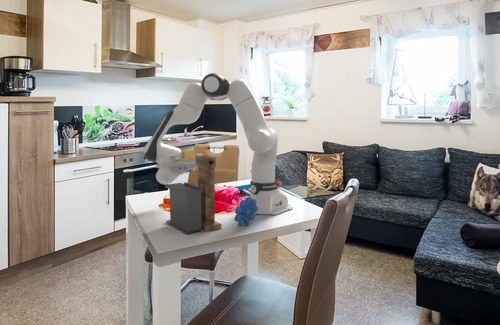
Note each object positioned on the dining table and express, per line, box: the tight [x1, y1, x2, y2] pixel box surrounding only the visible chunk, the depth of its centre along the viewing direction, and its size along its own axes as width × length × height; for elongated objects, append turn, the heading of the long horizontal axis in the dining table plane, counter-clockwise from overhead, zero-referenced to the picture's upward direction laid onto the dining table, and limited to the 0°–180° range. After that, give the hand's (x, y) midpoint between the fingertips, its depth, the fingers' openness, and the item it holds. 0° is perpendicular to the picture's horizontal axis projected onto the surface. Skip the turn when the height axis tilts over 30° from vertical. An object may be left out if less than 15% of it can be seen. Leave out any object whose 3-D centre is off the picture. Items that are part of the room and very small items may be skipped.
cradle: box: [164, 182, 204, 235], centre depth 147 cm, size 7×18×17 cm, turn 39°
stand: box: [195, 154, 222, 233], centre depth 147 cm, size 7×12×29 cm, turn 39°
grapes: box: [234, 196, 258, 227], centre depth 151 cm, size 12×7×12 cm, turn 128°
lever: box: [234, 183, 251, 194], centre depth 208 cm, size 7×7×18 cm
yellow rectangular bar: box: [181, 148, 197, 162], centre depth 150 cm, size 4×17×4 cm, turn 39°
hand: (188, 153), depth 155 cm, fingers closed on yellow rectangular bar, 4 cm apart
